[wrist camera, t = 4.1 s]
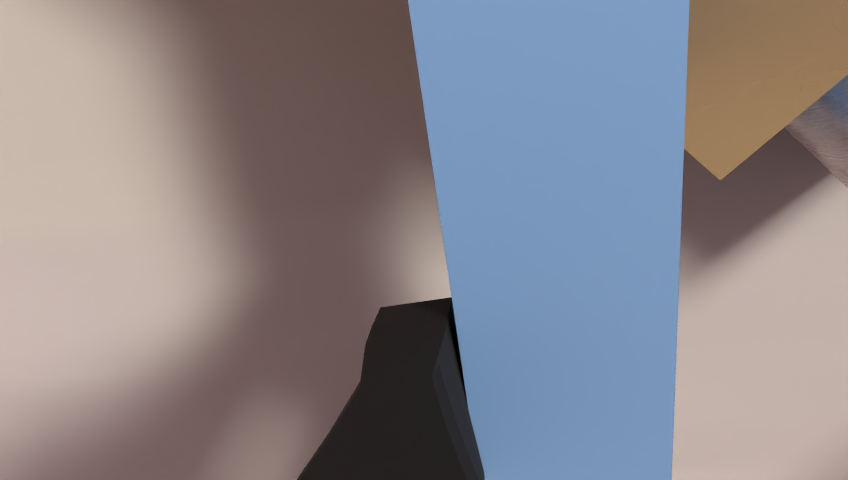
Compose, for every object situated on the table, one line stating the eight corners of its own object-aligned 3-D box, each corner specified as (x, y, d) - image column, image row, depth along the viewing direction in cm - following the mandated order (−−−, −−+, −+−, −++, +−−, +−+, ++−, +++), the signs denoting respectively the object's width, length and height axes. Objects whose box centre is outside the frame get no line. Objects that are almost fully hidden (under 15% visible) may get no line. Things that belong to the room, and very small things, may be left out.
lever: (699, -731, 6) (803, -959, 4) (664, 473, 13) (696, 606, 11) (301, -641, 7) (218, -806, 5) (473, 481, 14) (470, 610, 12)
